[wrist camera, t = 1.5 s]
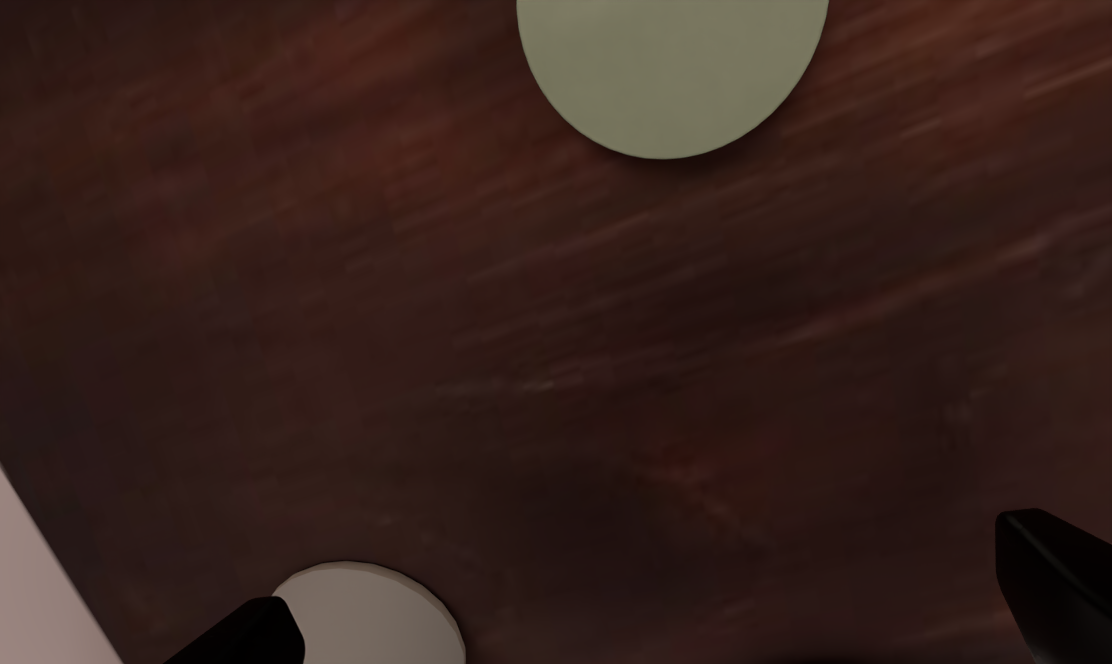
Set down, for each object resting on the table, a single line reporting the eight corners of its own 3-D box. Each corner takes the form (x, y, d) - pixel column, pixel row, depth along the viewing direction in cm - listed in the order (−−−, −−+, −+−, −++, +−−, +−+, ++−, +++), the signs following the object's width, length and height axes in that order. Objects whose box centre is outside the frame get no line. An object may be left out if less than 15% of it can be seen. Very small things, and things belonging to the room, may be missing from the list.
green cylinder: (825, -170, 15) (851, -202, 13) (794, 144, 18) (813, 157, 16) (523, -148, 16) (505, -175, 14) (536, 149, 19) (523, 162, 17)
